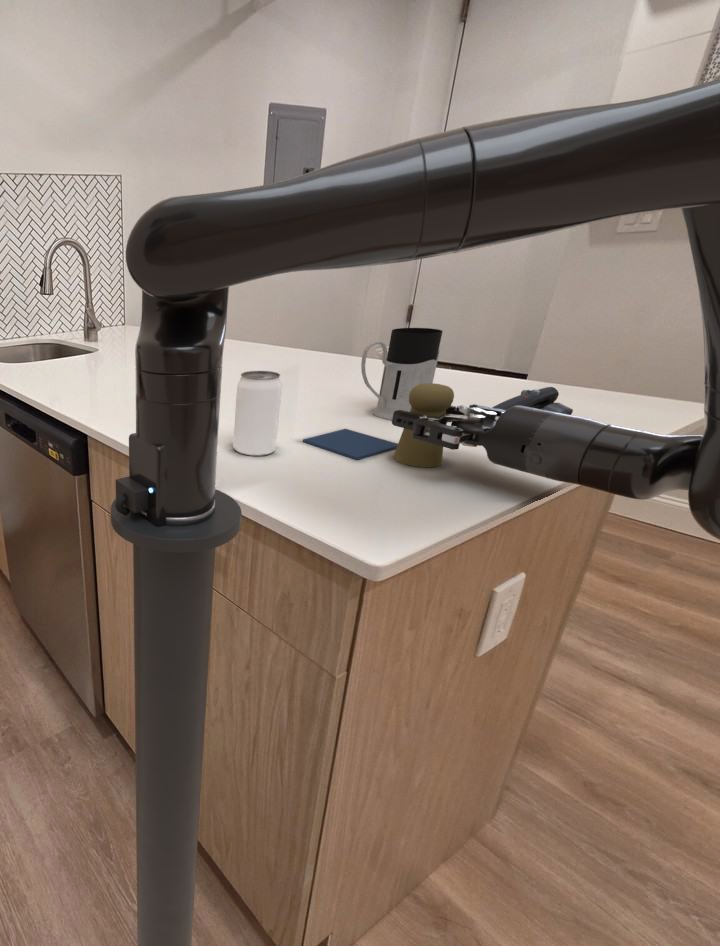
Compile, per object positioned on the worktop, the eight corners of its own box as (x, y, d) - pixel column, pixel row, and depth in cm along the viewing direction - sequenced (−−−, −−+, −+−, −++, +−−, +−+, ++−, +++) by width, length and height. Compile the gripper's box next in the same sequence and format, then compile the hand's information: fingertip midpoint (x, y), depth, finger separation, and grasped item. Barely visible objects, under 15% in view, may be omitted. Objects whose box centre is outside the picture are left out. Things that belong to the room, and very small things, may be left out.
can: (284, 453, 80) (292, 376, 76) (246, 459, 79) (252, 380, 74) (260, 440, 86) (267, 368, 81) (225, 445, 85) (229, 372, 80)
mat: (356, 460, 77) (357, 457, 76) (302, 441, 85) (302, 439, 85) (401, 447, 80) (401, 444, 80) (345, 430, 89) (345, 428, 89)
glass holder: (440, 418, 92) (460, 331, 86) (370, 427, 90) (385, 338, 84) (402, 406, 100) (418, 325, 94) (337, 414, 98) (349, 332, 92)
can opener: (530, 412, 93) (539, 381, 91) (576, 422, 87) (587, 388, 85) (459, 427, 88) (467, 394, 85) (503, 438, 82) (513, 403, 79)
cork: (449, 467, 72) (469, 389, 68) (402, 466, 73) (418, 390, 69) (431, 452, 78) (448, 379, 73) (387, 452, 79) (401, 380, 74)
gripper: (590, 403, 62) (447, 380, 76) (523, 424, 57) (381, 394, 71) (570, 461, 65) (436, 428, 79) (504, 487, 60) (372, 446, 74)
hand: (410, 412), depth 75 cm, fingers open, 6 cm apart
